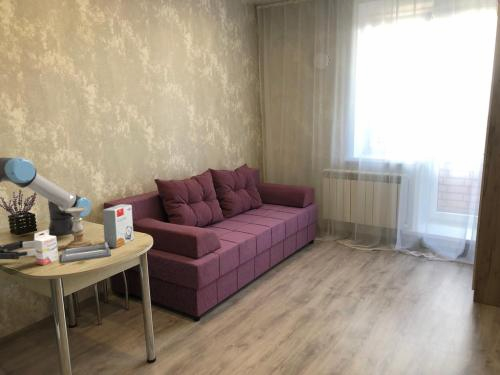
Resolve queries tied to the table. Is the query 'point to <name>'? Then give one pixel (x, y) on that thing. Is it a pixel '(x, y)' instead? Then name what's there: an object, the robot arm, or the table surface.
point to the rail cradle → (86, 253)
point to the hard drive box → (118, 225)
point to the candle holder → (77, 228)
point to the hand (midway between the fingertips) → (37, 247)
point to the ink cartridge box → (45, 248)
